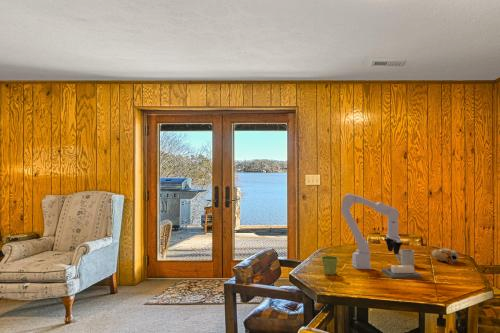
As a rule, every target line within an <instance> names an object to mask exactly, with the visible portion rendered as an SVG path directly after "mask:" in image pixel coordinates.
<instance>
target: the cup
mask: <svg viewBox="0 0 500 333" xmlns="http://www.w3.org/2000/svg"><path fill="white" fill-rule="evenodd" d="M395 255H396V256H395V257H396V260H397V261H398V262H399V263H400V265H412V266H413V267H415V250H413V249H409V248H402V249H401V248H400V250H399V253H398V254H395Z"/></svg>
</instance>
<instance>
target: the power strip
mask: <svg viewBox="0 0 500 333" xmlns="http://www.w3.org/2000/svg"><path fill="white" fill-rule="evenodd" d="M390 269H391V272H393V273H394V274H399V273H414V271H415V266H412V265H401V264H400V265H397V264H395V265H394V264H393V265H392V264H390Z"/></svg>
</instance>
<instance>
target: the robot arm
mask: <svg viewBox="0 0 500 333" xmlns="http://www.w3.org/2000/svg"><path fill="white" fill-rule="evenodd" d="M354 204H362V205H365V206H368V207H370V208H373V210H374V212H376V213H379V214H381V215H384V216H387V234H385V235H386V238H384V241H385V243H386V247H387V251H388V252H393V253H394V254H393V255H397V254H398V253H399V251H401V247H402V245H403V242H402V241H401V240H402V239H401V238H402V237H401V236H399V217H400V213H399V211H398V209H396V208H395V207H393V206H391V205H387V204H384V202H382V201H381V202H380V201H378V202H374V201H372V200H369V199H368V198H365V197H363V196H360V195H357V194H353V193H350V192H349V193H346V194H345V195H344V197H343V199H342V201H341V207H340V208H341V209H340V211H341V214H342V217H343V218H344V220H345V221H346V224H347V226H348V227H349V230H350V231H351V234H352V235H353V237H354V240H355V243H356V244H357V249H356V251H355V252H353V253H352V264H351V265H352V267H353V268H354V269H356V270H373V269H374V268H373V267H372V266H371V265H370V264H371V252H370V246H369V241H368V240H366V239H365V237H364V236H363V234H362V232H361V230H360V228H359V226H358V225H357V224H358V223H356V221H355V219H354V216H353V215H352V213H351V208H352V206H353V205H354Z"/></svg>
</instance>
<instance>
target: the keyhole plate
mask: <svg viewBox="0 0 500 333" xmlns="http://www.w3.org/2000/svg"><path fill="white" fill-rule="evenodd" d="M381 273H383V274H384V275H386V276H388V277H389V278H390V279H413V278H414V279H416V278H417V279H418V278H422V274H421V273H419V272H417V271H415V270H414V273H399V274H394V273H393V272H391V268H381Z"/></svg>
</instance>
